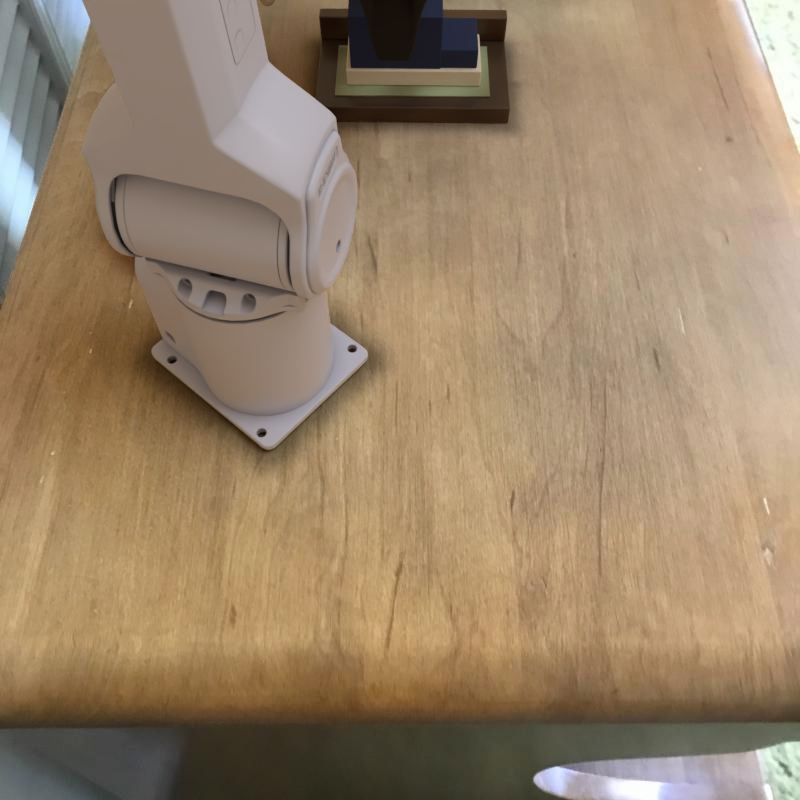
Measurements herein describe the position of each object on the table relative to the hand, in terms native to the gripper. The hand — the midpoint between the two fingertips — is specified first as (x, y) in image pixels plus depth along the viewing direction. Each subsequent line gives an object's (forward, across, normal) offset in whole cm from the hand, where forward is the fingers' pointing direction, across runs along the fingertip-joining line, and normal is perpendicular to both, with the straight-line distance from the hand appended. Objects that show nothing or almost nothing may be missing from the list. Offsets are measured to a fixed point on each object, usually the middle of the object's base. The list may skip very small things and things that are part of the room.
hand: (394, 19), depth 54 cm
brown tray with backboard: (+5, 0, -1) cm, 5 cm away
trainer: (+4, 0, -1) cm, 4 cm away
